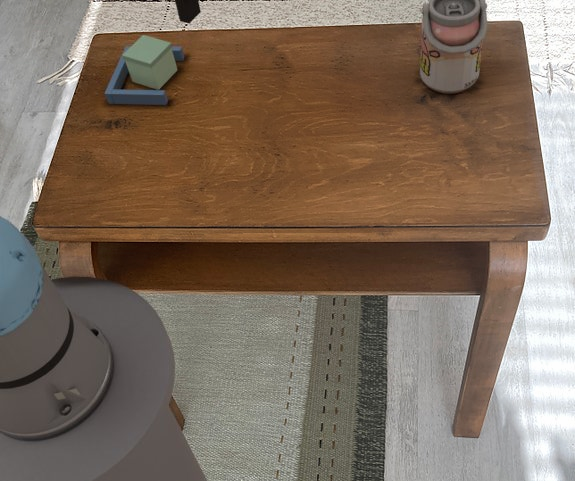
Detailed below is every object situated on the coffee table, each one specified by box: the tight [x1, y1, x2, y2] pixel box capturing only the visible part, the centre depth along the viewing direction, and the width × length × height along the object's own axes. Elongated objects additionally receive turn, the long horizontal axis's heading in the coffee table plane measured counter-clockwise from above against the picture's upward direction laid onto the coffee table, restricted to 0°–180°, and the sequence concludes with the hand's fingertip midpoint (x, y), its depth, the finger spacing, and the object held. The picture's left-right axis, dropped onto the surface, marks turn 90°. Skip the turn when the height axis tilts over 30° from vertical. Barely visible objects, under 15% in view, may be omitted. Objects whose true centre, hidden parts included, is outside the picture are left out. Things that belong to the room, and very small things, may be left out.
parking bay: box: [104, 45, 185, 106], centre depth 112 cm, size 9×11×2 cm
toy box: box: [121, 34, 178, 90], centre depth 111 cm, size 5×5×5 cm
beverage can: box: [419, 0, 489, 94], centre depth 101 cm, size 9×8×12 cm
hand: (190, 16), depth 97 cm, fingers closed
